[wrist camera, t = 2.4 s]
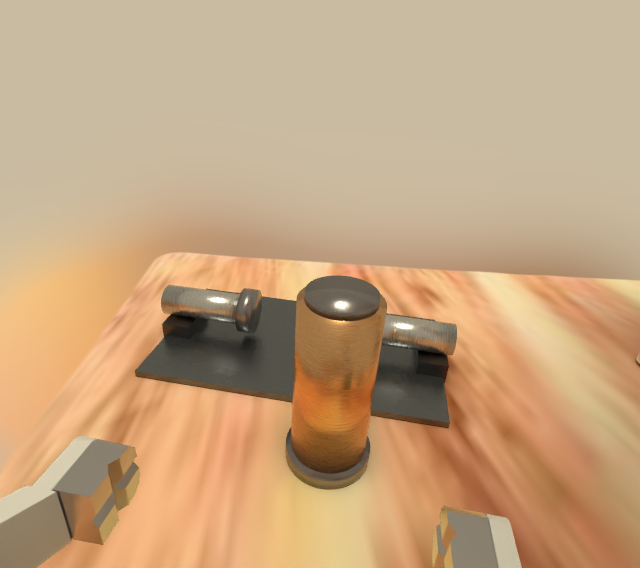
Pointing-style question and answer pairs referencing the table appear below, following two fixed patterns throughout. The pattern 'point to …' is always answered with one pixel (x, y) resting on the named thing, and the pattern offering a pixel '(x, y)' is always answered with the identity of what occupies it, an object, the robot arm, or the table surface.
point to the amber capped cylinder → (334, 379)
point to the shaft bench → (292, 352)
